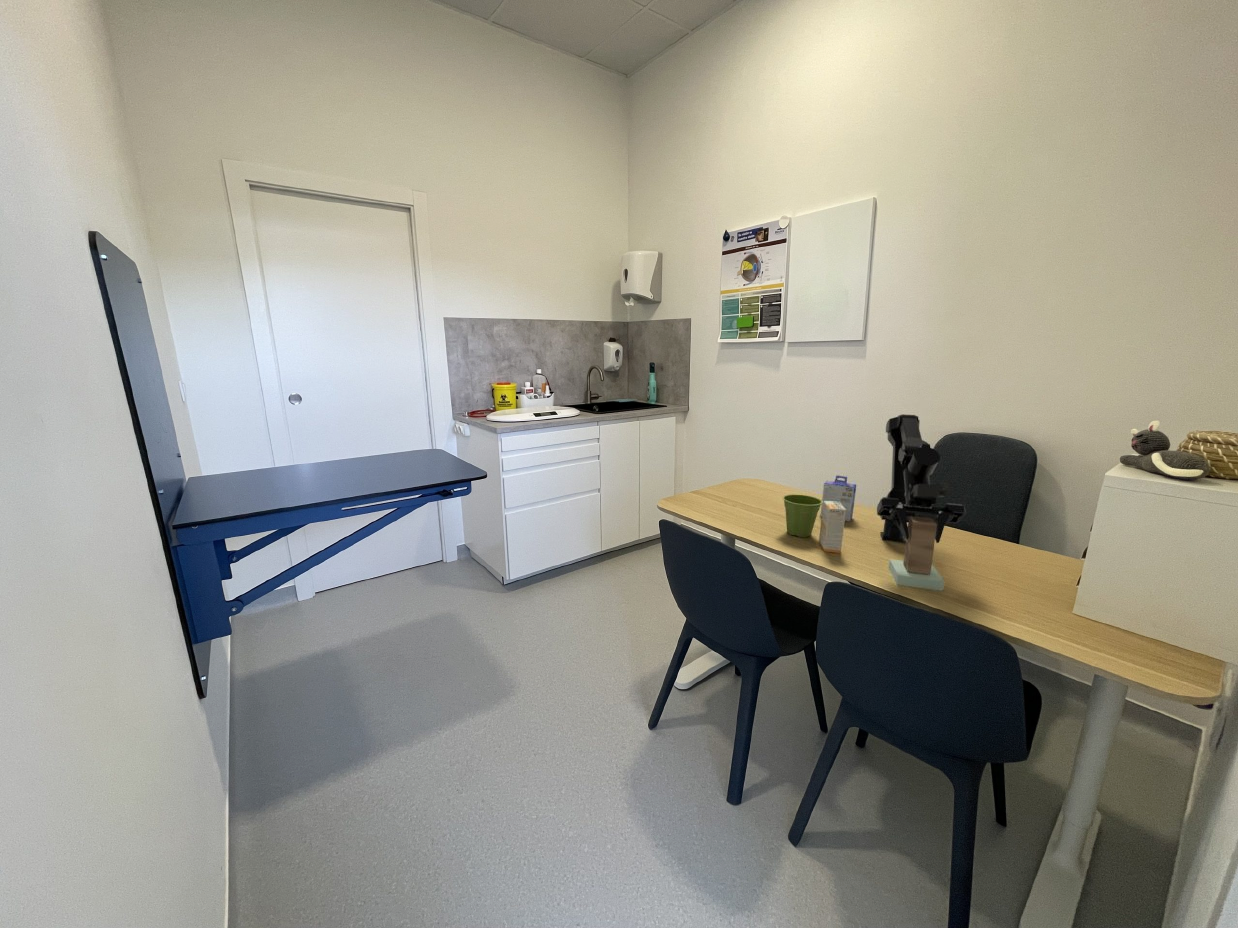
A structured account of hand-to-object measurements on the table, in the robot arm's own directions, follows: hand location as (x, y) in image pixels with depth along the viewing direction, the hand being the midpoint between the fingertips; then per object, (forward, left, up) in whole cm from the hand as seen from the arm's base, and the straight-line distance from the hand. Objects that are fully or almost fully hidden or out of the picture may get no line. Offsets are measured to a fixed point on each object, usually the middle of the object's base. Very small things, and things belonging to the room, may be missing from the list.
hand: (922, 540), depth 120 cm
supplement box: (-14, -20, -11) cm, 27 cm away
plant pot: (-22, -29, -11) cm, 38 cm away
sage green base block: (-1, 0, -11) cm, 12 cm away
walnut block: (-1, 0, -8) cm, 8 cm away
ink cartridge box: (-44, -18, -11) cm, 49 cm away
